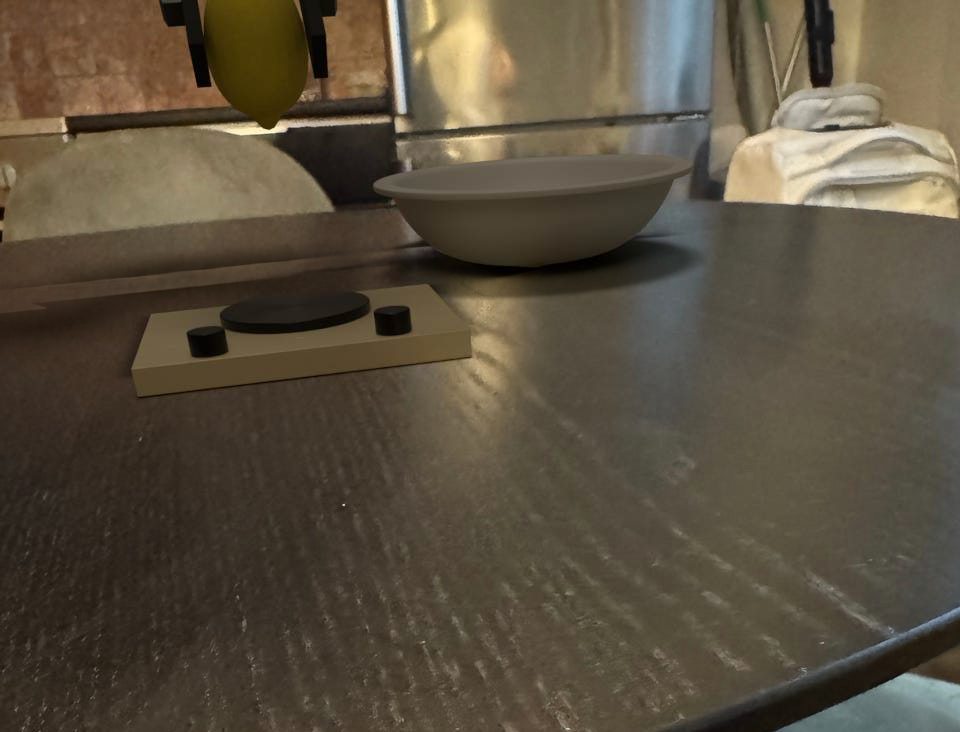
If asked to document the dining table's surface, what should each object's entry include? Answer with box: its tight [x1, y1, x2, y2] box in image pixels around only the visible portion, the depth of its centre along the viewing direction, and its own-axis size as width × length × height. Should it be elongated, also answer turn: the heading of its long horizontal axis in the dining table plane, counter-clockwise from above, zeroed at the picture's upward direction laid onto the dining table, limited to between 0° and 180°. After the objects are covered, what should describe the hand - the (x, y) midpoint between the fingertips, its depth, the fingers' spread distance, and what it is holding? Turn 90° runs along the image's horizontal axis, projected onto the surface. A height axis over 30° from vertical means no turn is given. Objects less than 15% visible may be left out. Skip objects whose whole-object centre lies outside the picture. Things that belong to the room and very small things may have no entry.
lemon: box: [203, 0, 309, 131], centre depth 54 cm, size 6×6×8 cm
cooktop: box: [130, 283, 473, 398], centre depth 58 cm, size 14×18×3 cm
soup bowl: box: [372, 153, 694, 268], centre depth 76 cm, size 24×24×7 cm
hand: (260, 61), depth 51 cm, fingers closed on lemon, 5 cm apart
